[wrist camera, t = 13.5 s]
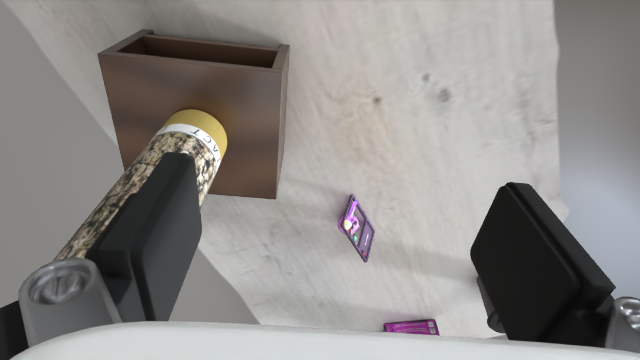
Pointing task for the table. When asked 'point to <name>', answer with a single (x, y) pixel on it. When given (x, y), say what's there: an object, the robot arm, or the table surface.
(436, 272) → the table surface
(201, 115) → the paper tube
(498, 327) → the coffee cup
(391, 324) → the candy bar box
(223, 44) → the walnut storage box
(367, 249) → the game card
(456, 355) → the robot arm
